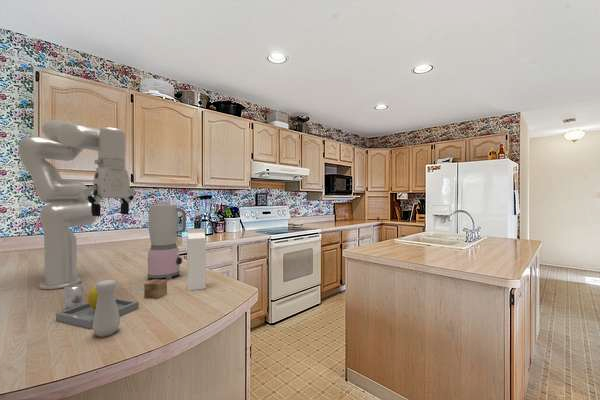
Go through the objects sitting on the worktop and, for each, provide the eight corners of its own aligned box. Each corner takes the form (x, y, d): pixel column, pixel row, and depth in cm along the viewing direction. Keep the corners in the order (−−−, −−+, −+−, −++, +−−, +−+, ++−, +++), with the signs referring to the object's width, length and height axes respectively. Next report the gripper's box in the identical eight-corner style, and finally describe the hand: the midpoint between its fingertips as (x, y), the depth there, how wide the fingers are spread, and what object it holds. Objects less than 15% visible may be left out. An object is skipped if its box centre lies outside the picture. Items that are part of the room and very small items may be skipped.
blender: (141, 281, 112) (140, 201, 112) (157, 272, 125) (156, 201, 124) (180, 281, 112) (179, 201, 112) (192, 272, 124) (191, 201, 124)
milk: (187, 286, 106) (186, 228, 106) (204, 284, 109) (203, 227, 109) (188, 291, 101) (187, 230, 100) (206, 288, 103) (205, 228, 103)
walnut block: (144, 298, 94) (144, 283, 94) (153, 293, 99) (153, 279, 98) (158, 299, 93) (158, 284, 93) (166, 293, 98) (166, 279, 98)
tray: (55, 320, 77) (55, 313, 77) (106, 302, 90) (106, 296, 90) (90, 328, 72) (90, 321, 72) (138, 308, 85) (138, 301, 85)
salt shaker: (102, 327, 73) (101, 277, 72) (125, 326, 73) (124, 277, 73) (86, 339, 67) (86, 285, 67) (112, 338, 67) (111, 284, 67)
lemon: (99, 315, 78) (99, 287, 78) (83, 314, 79) (82, 285, 79) (116, 308, 83) (116, 281, 83) (100, 306, 84) (100, 280, 84)
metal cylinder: (61, 311, 83) (61, 287, 83) (77, 305, 88) (77, 283, 87) (71, 313, 82) (70, 289, 82) (86, 307, 86) (86, 284, 86)
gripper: (91, 162, 86) (91, 217, 86) (142, 167, 102) (141, 214, 102) (76, 162, 88) (75, 216, 89) (128, 167, 104) (127, 213, 105)
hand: (111, 215), depth 96 cm, fingers open, 9 cm apart
